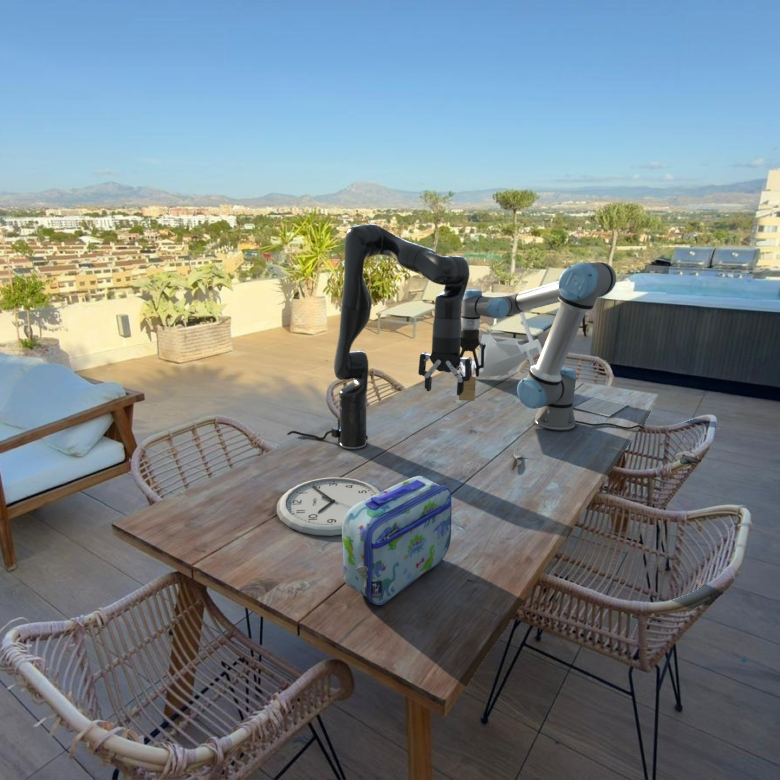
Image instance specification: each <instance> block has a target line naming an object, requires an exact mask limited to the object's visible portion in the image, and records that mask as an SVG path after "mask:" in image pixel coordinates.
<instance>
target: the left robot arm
mask: <svg viewBox="0 0 780 780" xmlns="http://www.w3.org/2000/svg"><path fill="white" fill-rule="evenodd" d="M343 248H344V249H343V250H344V251H343V253H344V254H343V256H344V259H343V260H344V261H343V262H344V266H343V267H344V268H343V269H344V272H343V273H344V276H343V287H342V288H343V289H342V297H341V306H340V318H339V319H340V320H339V332H338V337H337V344H336V348H335V355H334V359H333V360H334V361H333V371H334V375H335V378H337V380H341V381H348V380H349V381H350V380H352V381H351V382H350V383H349V384H347V385H345V386H343V387H342V388H340V390H339V393H338V396H339V397H338V399H339V416H338V417H337V426H334V427H331V429H330V430H327V431H325V433H324V435H323V436H321V437H320V436H317V435H314V434H310V433H306V432H300V431H297V430H290V431H288V432H287V433H286V436H290V435H291V434H292V435H293V434H294V435H295V434H296V435H299V436H303V437H308V438H313V439H316V440H319V441H324V440H325V439H326V438H327V436H328V435H329V434H331V437H332V438H335V439H337V444H339V446H340V447H341V448H342V449H345V450H361V449H364V448H365V447H366V446H367V444H368V443H367V441H368V439H369V438H368V435H367V394H368V386H369V385H368V382H369V359H368V355H367V352H365V351H363V350H353V351H351V348H352V346H353V344H354V342H355V340H356V339H357V338H358V337H359V336H360V335H361V333H362V332H363V330H365V328H366V327H367V325H368V323H369V321H370V318H371V311H372V302H373V299H372V295H371V291H370V290H369V288H368V285H367V284H366V281H365V278H364V267H365V259H368V258H373V257H376V256H385V257H391V258H393V259H395V261H396V262H397V264H398V265H399V266H401V267H402V268H404V269H405V270H408V271H410V272H413V273H415V274H418V275H421V276H423V277H424V278H425V279H427V280H428V281H430V282H432V283H433V284H436V285H440V286H444V288H443V291H442V292H441V293H439V294H438V295H436V297H435V299H434V310H433V323H432V335H431V336H432V337H431V338H432V339H431V354H430V353H427V352H425V351H424V352H422V353H420V354H419V362H418V373H417V374H418V375H419V376H421V377H424V389H425V390H426V392H430V391H431V390H432V381H433V376H432V375H433V374H434V373H435V371H436V370H437V371H438V372H441V373H443V372H445V373H449V374H450V373H452V375H453V376H454V377H455V379H456V380H457V384H456V396H458V397H459V396H460V395H461V394H462V393H463V391H464V381H469V380H470V379H471V378H472V361H473V359H472V357H471V356H468V357H462V358H461V356H460V353H461V346H460V345H461V334H462V330H461V328H462V325H461V316H462V300H463V297H464V294H465V290H467V287H468V283H469V279H470V265H469V263H468V261H467V260H466V258H465V257H463V256H461V255H446V256H445V255H439V254H438V253H437V252H436V251H435V250H433V249H431V248H429V247H426V246H423V245H420V244H417V243H414V242H411V241H408V240H405V239H403V238H401V237H400V236H397V235H396V234H394V233H392V232H390V231H389V230H387V229H386V228H383V227H382V226H380V225H378V224H375V223H366V224H360V225H359V224H358V225H353V226H351V227H349V228H348V229H347V231H346V233H345V237H344V246H343ZM429 360H430V362H431V363H432V365H431V367H430V368H428V370H426V369H427V368H426V367H427V362H428V361H429ZM460 362H462V363H463V366H465V376H464V375H463V374H462V372H461V369H460V368H459V367H460V365H459V363H460ZM458 365H459V366H458Z"/></svg>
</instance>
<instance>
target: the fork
mask: <svg viewBox="0 0 780 780" xmlns="http://www.w3.org/2000/svg"><path fill="white" fill-rule="evenodd" d="M522 455H523V450H521V449H519V448H517V447H515V448H514V452H513V457H514V460H513V462H512V471H514V470H515V468H516V466H517V464H518V459H519V458H522Z"/></svg>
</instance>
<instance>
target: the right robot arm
mask: <svg viewBox="0 0 780 780" xmlns="http://www.w3.org/2000/svg"><path fill="white" fill-rule="evenodd" d="M616 283H617V274H616V272H615V269H614V268H613V267H612V266H611V265H610V264H608V263H606V262H603V261H602V262H601V261H597V262H577V263H575V264H572V265H570V266H568V267H566V268H564V270H563V271H562V272H561V274H560V276H559V278H558V281H554V282H550V283H548V284H544V285H540V286H538V287H534V288H531V289H527V290H524V291H521V292H517V293H514V294H509V295H503V296H494V297H491V296H483V292H482V290H481V289H476V288H475V289H472V288H471V289H470V288H469V289H466V290H465V294H464V297H463V300H462V311H461V325H462V328H461V330H462V334H461V345H460V356H461V358H464V354H465V352H472V355H473V361H475V364H476V368H475V370H476V376H477V377H478V376H479V369H480V368H484V349H485V347H486V345H485V343H481V341H480V326H481V317H485V318H492V319H499V320H503V319H504V318H505V317H506V316H509V315H517V314H520V313H521V312H523V313H524V312H527V311H530V310H534V309H538V308H542V307H546V306H550V305H554V304H558V303H560V305H559V308H558V310H557V311H556V314H555V317H554V319H553V322H552V325H551V327H550V330H549V332H548V335H547V338H546V340H545V342H544V344H543V347H542V352H541V354H539V357H538V359H537V362H536V363H535V365H533V366H531V365H530V368H529V370H528V372H527V376H526V377H524V378H522V379H521V380H520V381H519V382H518V384H517V387H516V393H517V396H518V399H519V401H520V402H521V404H523V406H525V407H527V408H529V409H531V410H533V409H538V410H537V411H536V413H535V417H534V424H535V425H536V426H537V427H539V428H542V429H544V430H549V431H556V432H567V431H572V430H574V429H575V428H576V423H577V424H582V425H585V426H592V427H596V426H597V427H598V426H612V427H615V428H619V429H624V430H633V429H635V428H640V429H641V430H642V429H643V430H645V427H644V426H642V425H640V424H636V425H633V426H622V425H618V424H616V423H610V422H602V423H589V422H585V421H579V420H576V418H575V417H576V416H575V413H574V407H573V405H574V398H575V391H576V383H577V372H576V370H575V369H573V368H571V367H566V366H564V365H565V361H566V359H567V357H568V355H569V352H570V351H571V348H572V345H573V343H574V341H575V339H576V336H577V334H578V331H579V330H580V327H581V325H582V322H583V320H584V317H585V315H586V313H588V312H589V311H592V310H593V309H594V306H595V304H596V302H597V300H598V298H601V297H604V296H607V295H608V294H609V293H610V292H612V291H613V289H614V288H615V286H616ZM478 347H479V349H480V348H481V365H479V363H478V359H477V358H478V354H477V351H476V349H477V348H478ZM458 366H459V368H460V363H459V365H458Z"/></svg>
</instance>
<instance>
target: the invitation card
mask: <svg viewBox="0 0 780 780" xmlns="http://www.w3.org/2000/svg"><path fill="white" fill-rule="evenodd" d="M628 406H629V404H627V403H623V402H618V401H614V400H609V399H605V398H601V397H596V396H593V397H592V398H590V399H588V400H586V401H584V402H582V403H580V404H578V405H575V406H574V407H573V409H575V410H581V411H584V412H587V413H593V414H596V415H600V416H604V417H608V418H609V417H611V416H613V415H614V414H616V413H617V412H619V411H621V410H623V409H624V408H626V407H628Z"/></svg>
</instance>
